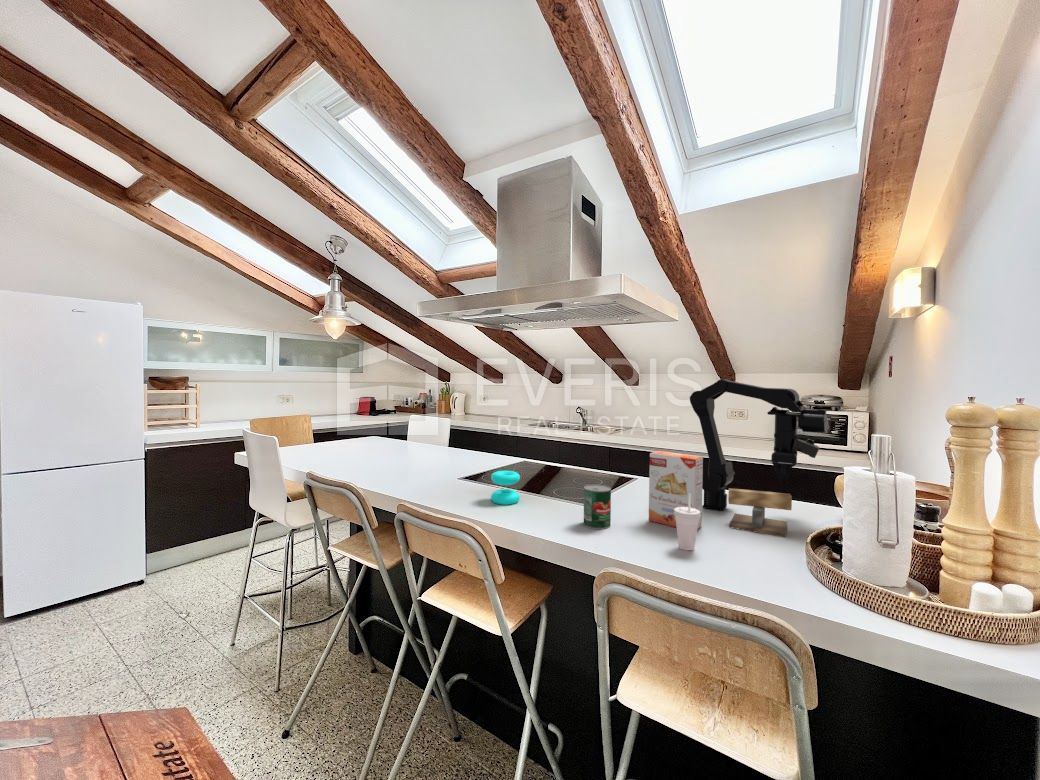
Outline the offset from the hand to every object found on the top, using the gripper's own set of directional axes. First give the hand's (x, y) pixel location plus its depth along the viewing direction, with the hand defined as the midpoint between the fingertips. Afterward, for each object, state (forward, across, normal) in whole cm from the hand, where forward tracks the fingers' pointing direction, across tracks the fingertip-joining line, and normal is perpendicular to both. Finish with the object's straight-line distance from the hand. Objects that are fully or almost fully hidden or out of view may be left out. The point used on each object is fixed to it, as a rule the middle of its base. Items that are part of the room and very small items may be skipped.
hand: (784, 481), depth 134 cm
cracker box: (+12, -21, +27) cm, 36 cm away
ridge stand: (+12, -9, +6) cm, 16 cm away
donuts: (+12, -29, +82) cm, 88 cm away
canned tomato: (+12, -34, +46) cm, 59 cm away
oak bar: (+6, -9, +6) cm, 12 cm away
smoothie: (+12, -38, +20) cm, 45 cm away
